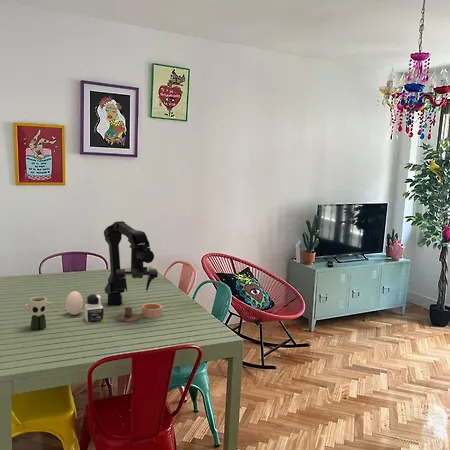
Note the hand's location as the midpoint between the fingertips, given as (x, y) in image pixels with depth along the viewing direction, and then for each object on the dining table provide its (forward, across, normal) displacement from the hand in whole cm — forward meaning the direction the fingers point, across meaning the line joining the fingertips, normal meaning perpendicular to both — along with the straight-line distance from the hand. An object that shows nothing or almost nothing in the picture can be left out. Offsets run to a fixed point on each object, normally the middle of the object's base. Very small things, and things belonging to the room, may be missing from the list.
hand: (136, 291), depth 214 cm
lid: (+12, -4, -3) cm, 13 cm away
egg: (+13, -28, +6) cm, 32 cm away
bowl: (+13, +7, +2) cm, 15 cm away
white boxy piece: (+13, -19, -3) cm, 23 cm away
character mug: (+13, -42, -9) cm, 45 cm away
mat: (+13, -4, -3) cm, 14 cm away
